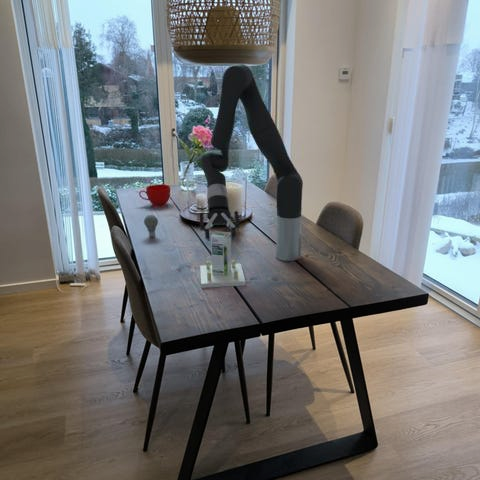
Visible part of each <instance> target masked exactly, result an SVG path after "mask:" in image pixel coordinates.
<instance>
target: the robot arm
mask: <svg viewBox="0 0 480 480" xmlns="http://www.w3.org/2000/svg"><path fill="white" fill-rule="evenodd" d="M239 100H240V102H241V104H242V106H243V109H244V111H245V112H244V113H245V115H246V121H247V125H248V129H249V132H250V135H251V137H252V138H253V140H254V143H255V145H256V146H257V148H258V150H259V152H260V153H261V154H262V156H263V157H264V158H265V159H266V160H267V161H268V163H269V165H270V166H271V168H272V170H273V172H274V174H275V178H276V180H277V184H276V231H275V232H276V237H275V238H276V239H275V241H276V242H275V258H276V259H278V260H279V261H283V262H293V261H296V260H301V259H302V257H301V255H302V243H303V242H302V237H303V236H302V234H301V232H302V231H301V228H302V209H303V207H302V203H303V184H304V183H303V178H302V176H301V175H300V173H299V172H298V170H297V168H296V167H295V165H294V164H293V162H292V161H291V159H290V156H289V154H288V152H287V148H286V146H285V143H284V141H283V139H282V136H281V134H280V131H279V130H278V127H277V125H276V123H275V121H274V119H273V117H272V115H271V113H270V111H269V109H268V107H267V105H266V104H265V102H264V100H263V98H262V95H261V94H260V91H259V88H258V85H257V82H256V80H255V77H254V74H253V71H252V70H251V69H250V67H249V66H247V65H246V64H243V63H238V64H232V65H230V66H228V67H226V69H225V70H224V72H223V74H222V81H221V92H220V99H219V105H218V110H217V111H218V112H217V115H216V120H215V124H214V127H213V131H212V135H211V139H210V145H211V146H212V147H213V148H216V149H218V150H220V152H215V151H209V150H208V151H205V152H203V153H202V154H201V156H200V164H201V165H200V167H201V169H202V171H203V173H204V176H205V179H206V185H207V191H206V192H207V193H206V200H207V213H203V212H200V214H199V230H200V231H201V232H202V231H204V235H205V238H204V239H205V240H206V241H207V242H211V235H210V230H211V228H212V227H213V226H225V225H226V227H228V228H229V229H230V232H231V241H232V240H233V241H234V240H235V239H236V237H237V236H236V233H237V232H236V230H237V229H238V230H239V229H240V227H241V223H240V217H239V211H238V210H235V211H234V212H230V207H229V205H230V204H229V197H228V196H229V195H228V190H227V189H228V188H227V180H226V179H227V178H226V176H225V174H224V172H225V171H226V170H227V169H228V167H229V158H230V157H229V152H230V151H229V150H230V143H231V139H232V137H233V133H234V127H235V118H236V113H237V112H236V110H237V107H238V103H239ZM231 217H232V218H233V219H234V222H235V223H233V222H232V220H231ZM206 219H208V222H207V224H206V225H204V221H206Z"/></svg>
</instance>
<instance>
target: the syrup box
mask: <svg viewBox="0 0 480 480" xmlns="http://www.w3.org/2000/svg"><path fill="white" fill-rule="evenodd" d="M210 248H211V249H210V250H211V252H210V253H211V254H210V255H211V265H212V274H219V275H226V276H227V274H228V273H229V272H230V270H231V261H232V237H231V231H229V232H228V231H218V230H216V231H214V232H213V233H212V234H210Z"/></svg>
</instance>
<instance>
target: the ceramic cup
mask: <svg viewBox="0 0 480 480" xmlns="http://www.w3.org/2000/svg"><path fill="white" fill-rule="evenodd" d="M141 193H145V194H146V197H147V198H145V197H143V195H141ZM138 195H139V197H140V198H141V199H143V200H145V201H149V203H151V205H152V206H154V207H163V206H166V204H167V203H168V202H169V200H170V197H171V186H170V185H167V184H162V183H161V184H152V185H148V186H146V188H145V190H140V191H139V192H138Z"/></svg>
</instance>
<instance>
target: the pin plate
mask: <svg viewBox="0 0 480 480" xmlns="http://www.w3.org/2000/svg"><path fill="white" fill-rule="evenodd" d="M199 267H200V268H199V270H200V286H201V289H202V288H205V289H206V288H216V287H217V288H219V287H239V286H240V287H241V286H246V279H245V275H244V272H243V268H242V264H241V263H236V260H235V259H231V270H230V272H229V273H228V274H227V276H226V275H219V274H212V264H211V261H206V262H205V264H202V265H201V264H200V266H199Z"/></svg>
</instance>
